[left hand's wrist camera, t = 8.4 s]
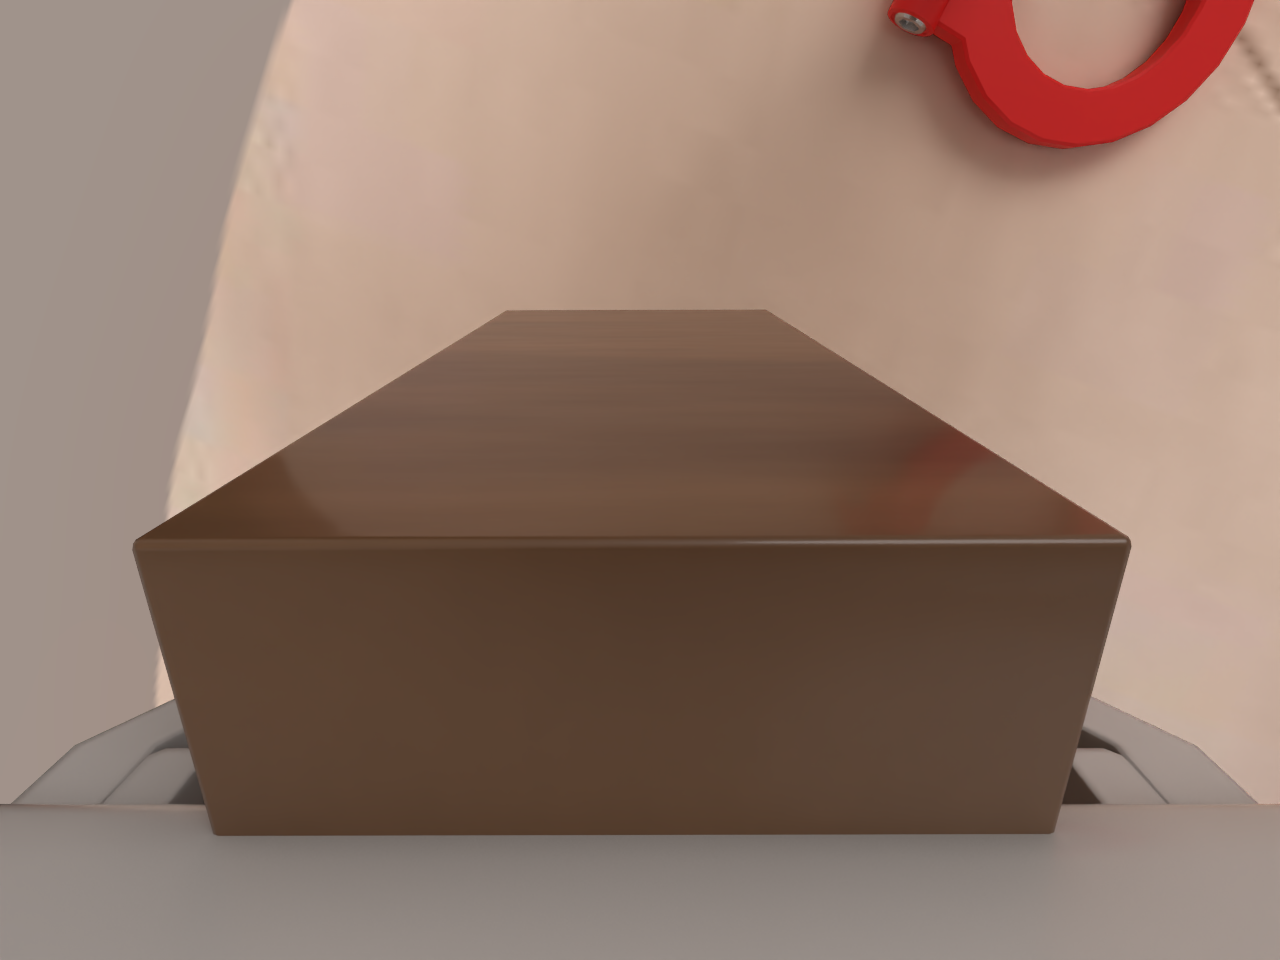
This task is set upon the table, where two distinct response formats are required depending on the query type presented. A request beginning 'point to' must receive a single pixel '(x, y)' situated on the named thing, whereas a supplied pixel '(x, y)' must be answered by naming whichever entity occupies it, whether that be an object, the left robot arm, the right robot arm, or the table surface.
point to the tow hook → (1059, 114)
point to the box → (633, 601)
